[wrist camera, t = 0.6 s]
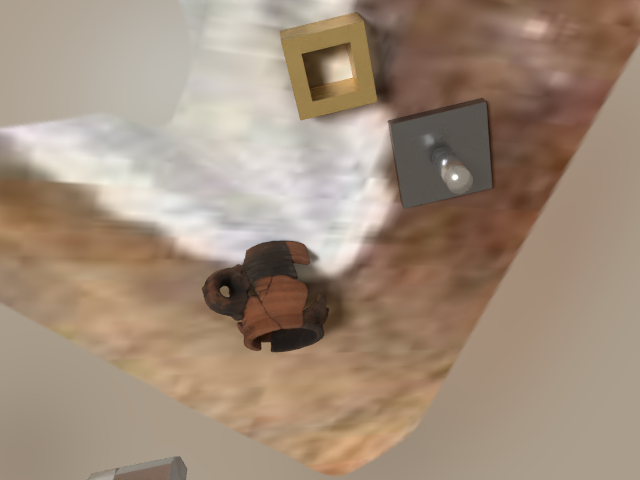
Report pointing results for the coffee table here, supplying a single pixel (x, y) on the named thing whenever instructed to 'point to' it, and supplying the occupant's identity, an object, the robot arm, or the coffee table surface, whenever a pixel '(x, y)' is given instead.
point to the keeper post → (442, 153)
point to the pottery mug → (269, 298)
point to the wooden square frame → (336, 93)
